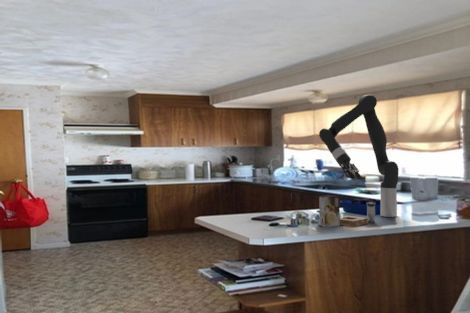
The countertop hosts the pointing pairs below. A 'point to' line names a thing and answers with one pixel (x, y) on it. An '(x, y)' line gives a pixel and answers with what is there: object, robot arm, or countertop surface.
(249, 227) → the countertop surface
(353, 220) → the socket
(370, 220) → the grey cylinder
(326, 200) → the coffee box
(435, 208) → the countertop surface
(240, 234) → the countertop surface
